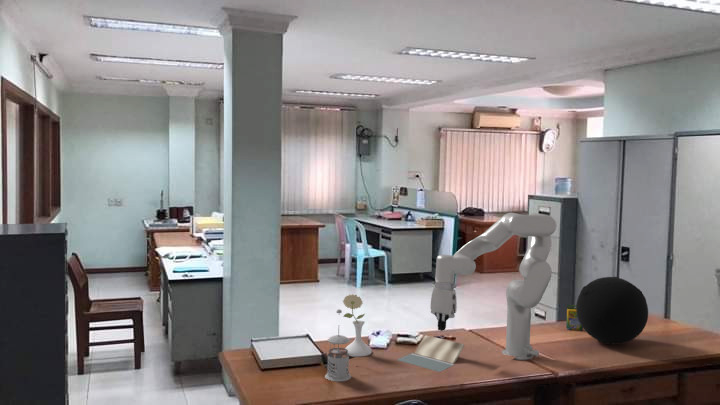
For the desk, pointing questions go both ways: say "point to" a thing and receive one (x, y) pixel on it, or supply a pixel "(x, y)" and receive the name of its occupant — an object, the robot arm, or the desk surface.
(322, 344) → the desk surface
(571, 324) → the crayon box
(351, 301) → the flower in vase
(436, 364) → the grey rectangular panel
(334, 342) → the french press
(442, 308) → the robot arm
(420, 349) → the plank
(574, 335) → the desk surface
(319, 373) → the desk surface
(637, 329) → the sphere
